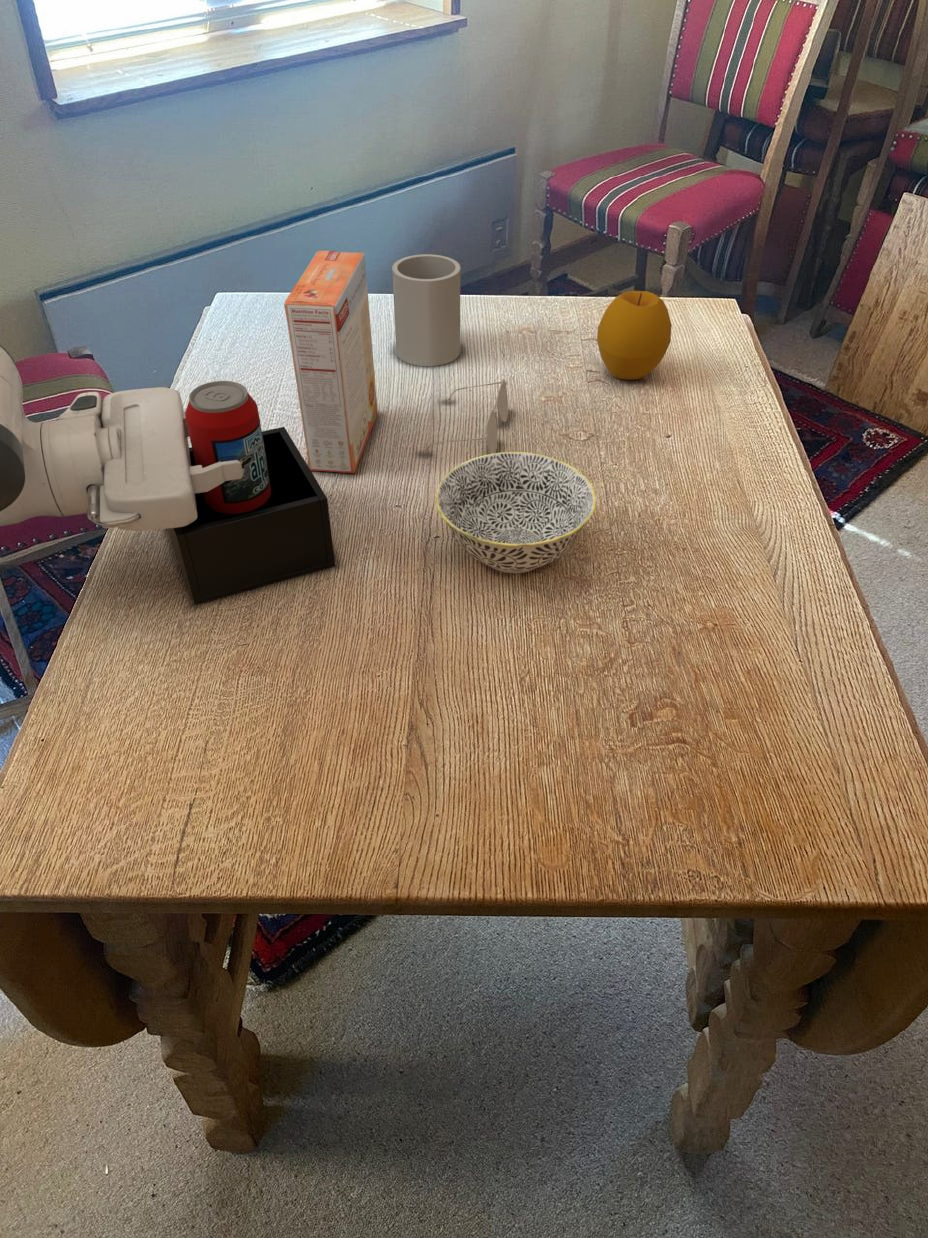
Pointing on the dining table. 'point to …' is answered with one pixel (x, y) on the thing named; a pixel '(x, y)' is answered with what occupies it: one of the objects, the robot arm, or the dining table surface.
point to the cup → (427, 309)
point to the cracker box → (333, 359)
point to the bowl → (515, 508)
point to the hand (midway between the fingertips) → (237, 443)
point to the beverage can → (229, 444)
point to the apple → (634, 334)
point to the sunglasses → (490, 418)
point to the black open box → (259, 531)
